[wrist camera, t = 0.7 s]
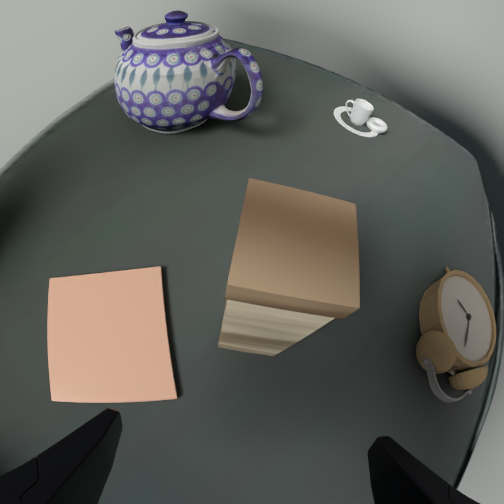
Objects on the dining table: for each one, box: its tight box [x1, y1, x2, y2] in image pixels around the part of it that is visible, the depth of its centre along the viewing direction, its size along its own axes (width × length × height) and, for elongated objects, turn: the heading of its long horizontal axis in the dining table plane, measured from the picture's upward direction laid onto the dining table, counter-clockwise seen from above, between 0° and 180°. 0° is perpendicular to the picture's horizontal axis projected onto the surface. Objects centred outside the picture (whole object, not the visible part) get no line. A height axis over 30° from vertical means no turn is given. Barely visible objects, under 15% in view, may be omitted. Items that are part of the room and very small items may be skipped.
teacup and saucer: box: [334, 99, 387, 137], centre depth 39 cm, size 9×8×4 cm
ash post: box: [218, 178, 360, 356], centre depth 17 cm, size 5×5×14 cm
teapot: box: [114, 11, 263, 134], centre depth 28 cm, size 25×15×15 cm, turn 52°
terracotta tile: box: [48, 266, 178, 403], centre depth 20 cm, size 11×11×1 cm
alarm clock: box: [416, 267, 496, 402], centre depth 23 cm, size 11×5×15 cm
